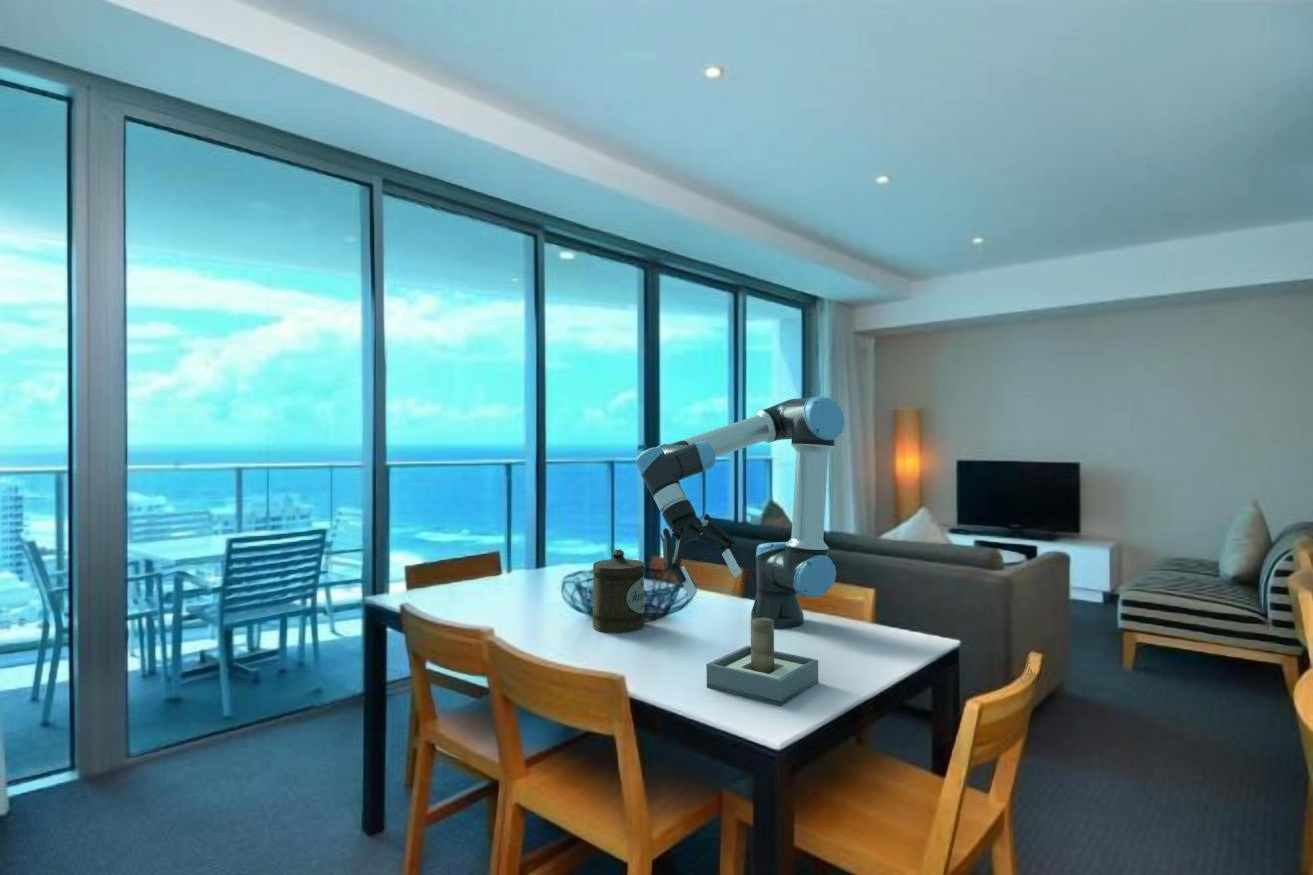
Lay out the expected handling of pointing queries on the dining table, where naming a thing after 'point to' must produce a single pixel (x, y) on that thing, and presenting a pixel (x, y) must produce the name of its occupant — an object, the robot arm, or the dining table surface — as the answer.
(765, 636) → the peg
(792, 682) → the tray
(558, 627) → the dining table surface
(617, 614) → the wooden container
